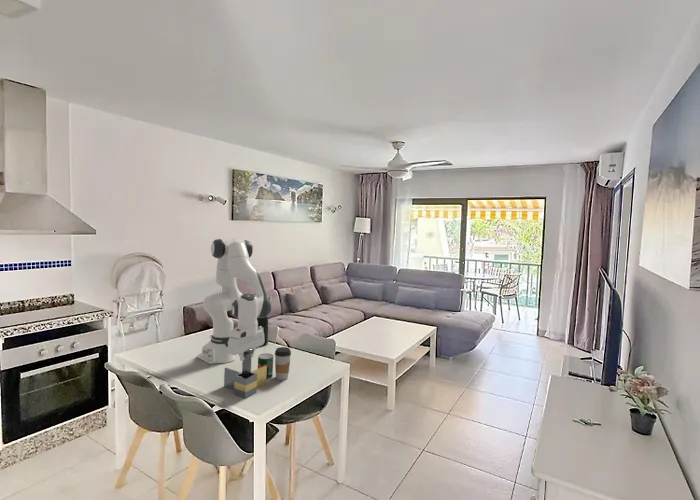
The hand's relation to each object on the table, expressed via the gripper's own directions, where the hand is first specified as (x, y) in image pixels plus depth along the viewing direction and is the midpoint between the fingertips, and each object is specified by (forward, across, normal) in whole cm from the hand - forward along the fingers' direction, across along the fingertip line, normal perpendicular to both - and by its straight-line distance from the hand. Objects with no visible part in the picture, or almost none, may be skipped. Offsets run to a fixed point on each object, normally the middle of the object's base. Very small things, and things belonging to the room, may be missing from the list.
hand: (246, 358), depth 175 cm
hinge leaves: (+17, -5, -5) cm, 18 cm away
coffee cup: (+17, -24, +2) cm, 29 cm away
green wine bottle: (+17, -57, -44) cm, 74 cm away
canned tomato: (+17, -20, -6) cm, 27 cm away
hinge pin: (+9, 0, 0) cm, 9 cm away
